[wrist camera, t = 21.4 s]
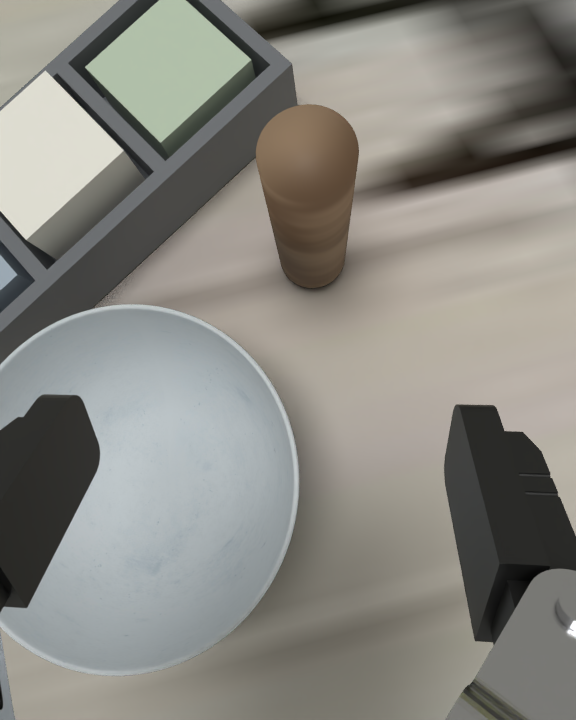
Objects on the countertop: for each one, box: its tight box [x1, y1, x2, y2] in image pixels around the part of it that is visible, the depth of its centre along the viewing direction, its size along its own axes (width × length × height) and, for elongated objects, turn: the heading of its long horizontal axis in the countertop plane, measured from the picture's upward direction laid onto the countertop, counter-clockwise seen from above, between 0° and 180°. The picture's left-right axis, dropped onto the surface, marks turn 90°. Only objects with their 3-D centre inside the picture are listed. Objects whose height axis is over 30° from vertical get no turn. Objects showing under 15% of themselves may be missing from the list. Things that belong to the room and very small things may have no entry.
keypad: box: [0, 0, 298, 364], centre depth 30 cm, size 10×26×4 cm, turn 133°
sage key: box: [85, 0, 256, 161], centre depth 30 cm, size 6×6×4 cm
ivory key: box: [0, 70, 145, 260], centre depth 28 cm, size 6×6×4 cm
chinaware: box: [0, 304, 299, 676], centre depth 25 cm, size 15×15×8 cm
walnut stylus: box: [256, 104, 359, 288], centre depth 24 cm, size 4×4×12 cm
